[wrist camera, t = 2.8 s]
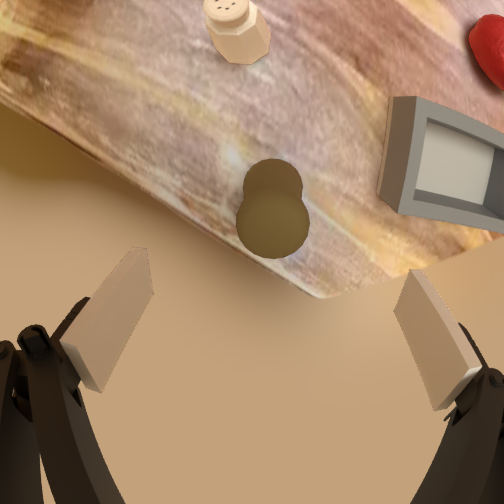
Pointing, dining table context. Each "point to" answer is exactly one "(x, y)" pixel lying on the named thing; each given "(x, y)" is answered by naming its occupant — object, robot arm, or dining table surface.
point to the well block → (442, 165)
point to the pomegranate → (489, 47)
